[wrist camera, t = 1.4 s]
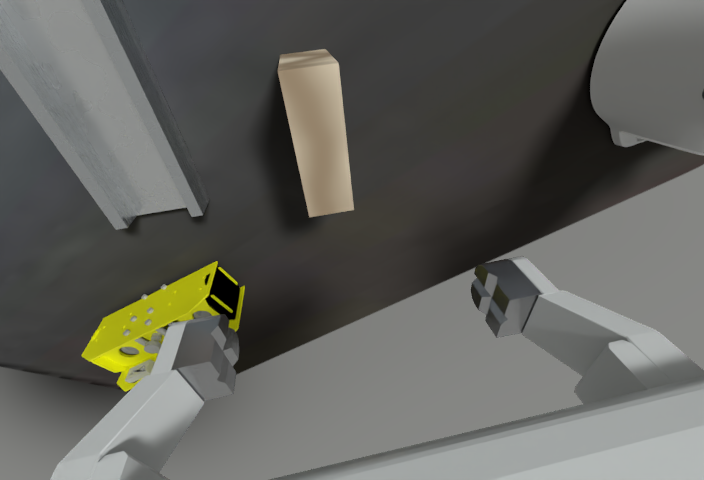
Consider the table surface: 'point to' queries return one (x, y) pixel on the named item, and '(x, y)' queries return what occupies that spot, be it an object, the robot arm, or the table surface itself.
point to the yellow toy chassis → (161, 321)
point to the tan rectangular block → (317, 129)
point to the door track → (100, 104)
